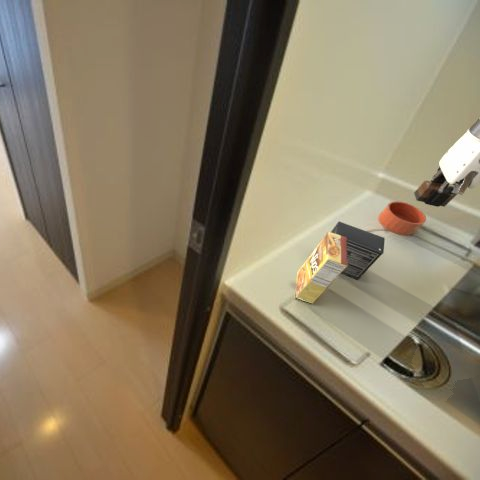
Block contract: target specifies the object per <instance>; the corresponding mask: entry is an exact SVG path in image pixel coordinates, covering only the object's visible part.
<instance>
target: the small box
mask: <svg viewBox="0 0 480 480" xmlns="http://www.w3.org/2000/svg"><path fill="white" fill-rule="evenodd" d="M330 232H331V233H334V234H338V235H341V236H344V237H346V238H347V261H348V266H347V267H346V268H345V269H344V270H343V271H342V273H341V274H342V275H345V276H348V277H350V278H352V279H355V280H360V279H361V277H362V276H364V274H365V273H366V272H367V271H368V270H369V269H370V268H371V267H372V266H373V265H374V264H375V262H376V261H377V260H378V259H379V258H380V257H381V256H383V254H384V251H385V237H384V236H380V235H378V234H375V233H372V232H369V231H367V230H364V229H361V228H358V227H355V226H353V225H350V224H347V223H345V222H342V221H337V223H336V224H335V226H334V227H333V229H332V230H331V231H330Z"/></svg>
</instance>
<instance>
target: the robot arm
mask: <svg viewBox="0 0 480 480" xmlns="http://www.w3.org/2000/svg"><path fill="white" fill-rule="evenodd" d="M438 165H439V167H438V168H437V171H436V173H435V174H434V175H432V179H431V180H430V181H431V182H435V183H440V184H442V186H441V187H440V188H439V189H438V190H435V191H434V192H433V193H432V194H431V195H430V196H429V197H428V198H427V199H426V200H425V201H424V202H423V203H424V204H425V205H429V206H433V207H436V208H437V207H438V208H439V207H442V206H441V205H442V204H443V203H444V202H445V201H446V200H447V199H448V198H449V197H450V196H451V195H454V194H457V195H460V196H463V195H464V194H465V192H466V190H467V189H471V190H472V189H474V188H476V187H477V186H478V185H479V184H480V116H478V118H477V119H476V120H475V121H474V123H472V125H471V126H470V127H469V128H468V129H467V130H466V132H465V133H464V134H463V135H462V136H461V137H460V138H458V140H457V141H456V142H455V143H454V144H453V145H452V146H451V147H450V148H449V149H448V150H447V151H446V152H445V154H443V156H442V157H441V158H440V160H439V163H438ZM448 186H454V187H448Z"/></svg>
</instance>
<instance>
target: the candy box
mask: <svg viewBox="0 0 480 480" xmlns="http://www.w3.org/2000/svg"><path fill="white" fill-rule="evenodd" d="M347 266H348V261H347V238H346V237H344V236H341V235H338V234H334V233H331V231H328V232H327V233H326V234H325V235H324V236H323V238H322V239H321V241H320V242H319V243H318V244H317V246H316V247H315V248H314V250H313V251H312V252H311V253H310V255H309V256H308V258H307V259H306V260H305V261H304V262H303V264H302V266H301V267H300V268H299V269H298V271H297V272H296V280H295V291H296V297H298V298H301V299H303V300H305V301H308V302H311V303H312V304H314V302H315V301H316V300H317V299H318V298H319V297H320V296H321V295H322V294H323V293H324V292H325V291H326V290H327V289H328V288H329V286H330V285H331V284H332V283H333V282H334V281H335V280H336V279H337V278H338V277H339V276H340V275H341V274H342V271H343V270H344V269H345V268H346V267H347Z"/></svg>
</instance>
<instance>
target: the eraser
mask: <svg viewBox="0 0 480 480" xmlns="http://www.w3.org/2000/svg"><path fill="white" fill-rule="evenodd" d="M441 186H442V184H440V183H435V182H431V180H424V181H423V182H422V183H421V184H420V185H419V186H418V188H417V189H416V190H415V191H414V192H413V195H414V197H415V200H416V202H420V203H421V202H422V203H425V202H424V201H425V200H426V199H427V198H428V197H429V196H430V195H431V194H432V193H433V192H434V191H435V190H438V189H439V188H440V187H441ZM454 186H455V185H449V186H448V187H454ZM457 195H458V194H454V195H451V196H450V197H449V198H448V199H447V200H446V201H445V202H444V203H443V204H442V205H441V206H440V207H444V208H445V207H446V206H447V205H448V204H449V203H450V202H451V201H452V200H453V199H454V198H455V197H456V196H457Z"/></svg>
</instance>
